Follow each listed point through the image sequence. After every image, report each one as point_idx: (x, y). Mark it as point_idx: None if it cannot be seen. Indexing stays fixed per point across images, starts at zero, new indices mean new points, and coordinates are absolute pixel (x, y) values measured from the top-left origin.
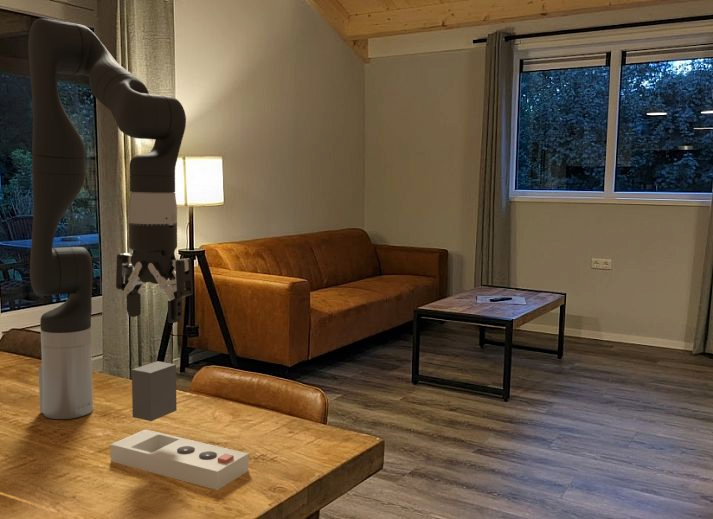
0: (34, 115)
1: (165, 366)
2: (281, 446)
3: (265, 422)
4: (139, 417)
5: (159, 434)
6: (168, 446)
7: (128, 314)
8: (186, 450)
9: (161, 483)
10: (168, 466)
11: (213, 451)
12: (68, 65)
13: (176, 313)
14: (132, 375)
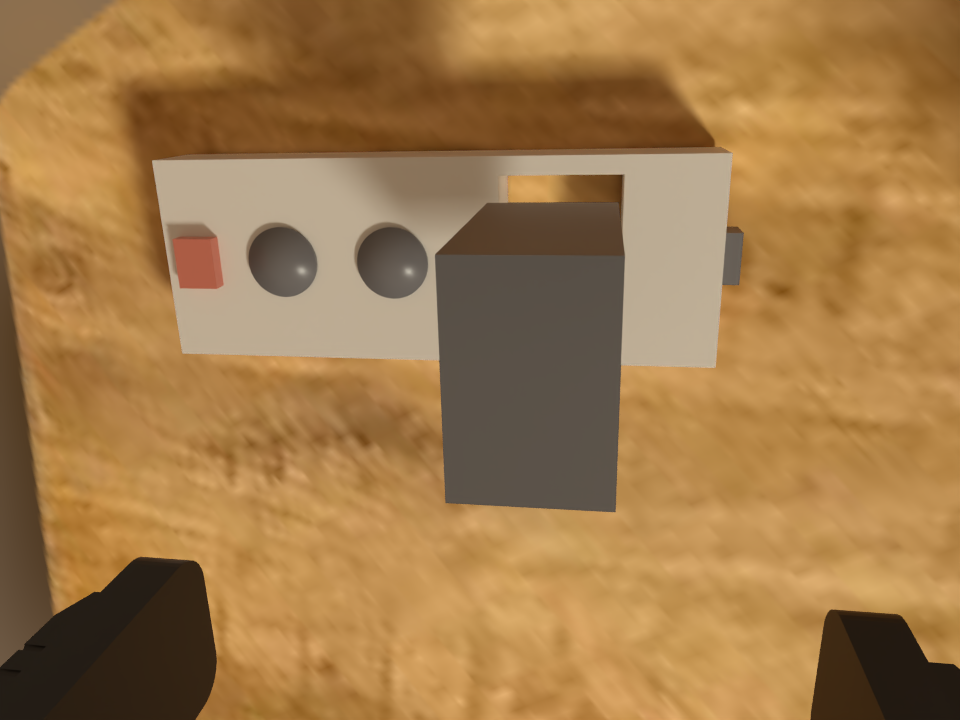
0: None
1: (467, 431)
2: (273, 555)
3: (457, 708)
4: (568, 203)
5: None
6: None
7: (896, 619)
8: (381, 255)
9: (402, 103)
10: (397, 154)
11: (298, 308)
12: None
13: (24, 648)
14: (617, 245)
